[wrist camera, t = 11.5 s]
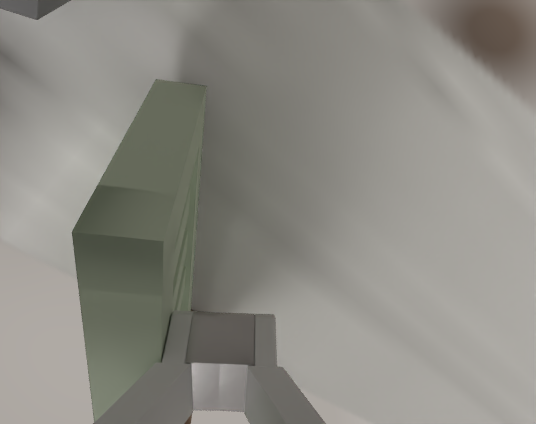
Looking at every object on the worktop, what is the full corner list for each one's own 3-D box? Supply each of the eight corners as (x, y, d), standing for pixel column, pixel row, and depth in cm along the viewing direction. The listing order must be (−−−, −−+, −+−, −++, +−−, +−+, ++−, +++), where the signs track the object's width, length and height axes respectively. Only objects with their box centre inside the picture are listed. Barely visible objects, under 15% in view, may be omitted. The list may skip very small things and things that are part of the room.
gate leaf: (154, 310, 21) (104, 506, 14) (155, 79, 15) (72, 231, 8) (190, 313, 21) (157, 509, 14) (206, 86, 15) (163, 241, 8)
